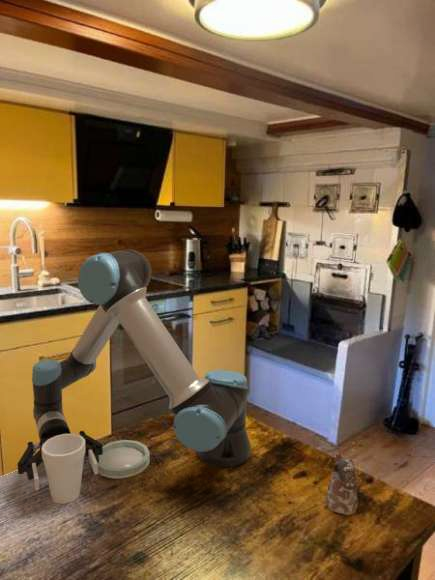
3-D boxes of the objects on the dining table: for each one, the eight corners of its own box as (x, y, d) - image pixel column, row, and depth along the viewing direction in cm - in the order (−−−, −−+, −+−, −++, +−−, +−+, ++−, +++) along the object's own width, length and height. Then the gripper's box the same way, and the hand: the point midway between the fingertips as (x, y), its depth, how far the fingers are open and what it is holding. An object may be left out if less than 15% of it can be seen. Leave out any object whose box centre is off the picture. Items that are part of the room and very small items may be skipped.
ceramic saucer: (160, 459, 116) (160, 452, 116) (119, 486, 105) (119, 478, 104) (124, 440, 124) (124, 434, 124) (82, 463, 113) (82, 456, 113)
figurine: (339, 518, 96) (344, 470, 94) (319, 498, 102) (323, 453, 100) (363, 509, 99) (368, 462, 97) (342, 491, 105) (347, 446, 103)
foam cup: (73, 511, 96) (71, 459, 93) (36, 505, 97) (33, 453, 95) (94, 485, 105) (92, 436, 102) (59, 479, 107) (57, 431, 104)
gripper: (99, 433, 122) (121, 476, 103) (4, 455, 110) (8, 507, 92) (99, 409, 120) (120, 448, 102) (2, 428, 109) (6, 476, 90)
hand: (67, 476), depth 97 cm, fingers open, 12 cm apart
